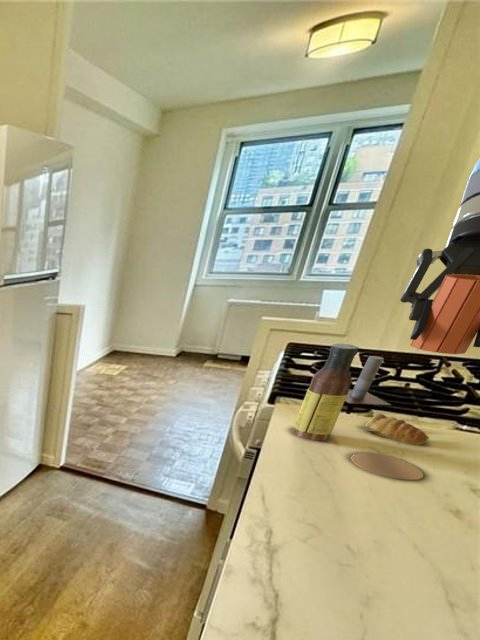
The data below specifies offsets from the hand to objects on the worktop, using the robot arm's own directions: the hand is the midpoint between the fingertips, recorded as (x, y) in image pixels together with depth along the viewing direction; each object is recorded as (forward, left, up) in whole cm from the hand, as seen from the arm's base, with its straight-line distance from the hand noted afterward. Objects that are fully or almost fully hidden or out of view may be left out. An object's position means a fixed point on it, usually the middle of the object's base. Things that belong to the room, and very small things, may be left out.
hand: (447, 338), depth 82 cm
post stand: (-16, -32, -25) cm, 43 cm away
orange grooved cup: (-2, -3, -2) cm, 4 cm away
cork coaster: (0, +2, -25) cm, 25 cm away
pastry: (-11, -13, -25) cm, 30 cm away
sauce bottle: (+6, -11, -25) cm, 28 cm away
